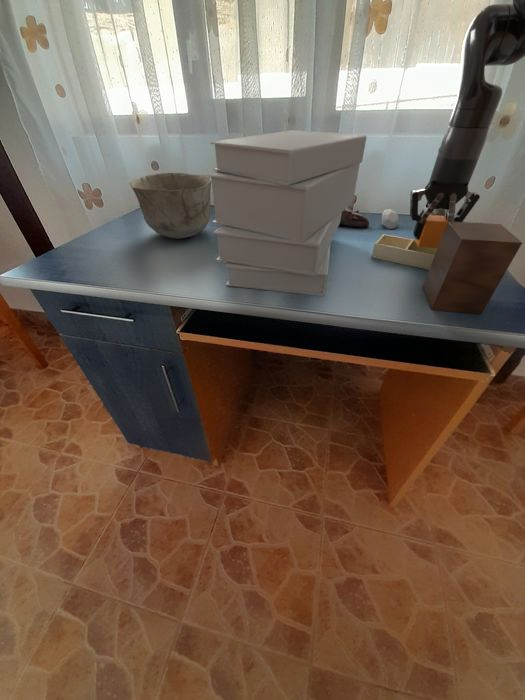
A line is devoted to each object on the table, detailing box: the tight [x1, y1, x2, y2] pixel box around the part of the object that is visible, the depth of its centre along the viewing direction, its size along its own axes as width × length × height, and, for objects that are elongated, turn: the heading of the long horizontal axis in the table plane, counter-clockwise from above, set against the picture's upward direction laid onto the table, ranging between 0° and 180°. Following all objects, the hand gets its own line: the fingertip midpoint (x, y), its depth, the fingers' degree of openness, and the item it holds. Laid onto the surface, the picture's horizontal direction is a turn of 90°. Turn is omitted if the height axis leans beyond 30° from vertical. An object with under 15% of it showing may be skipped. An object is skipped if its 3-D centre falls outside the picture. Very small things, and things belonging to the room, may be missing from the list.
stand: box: [422, 221, 523, 316], centre depth 56 cm, size 9×9×14 cm
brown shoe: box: [339, 207, 370, 228], centre depth 94 cm, size 6×12×11 cm
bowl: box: [129, 172, 212, 240], centre depth 85 cm, size 22×22×15 cm
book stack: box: [206, 129, 367, 297], centre depth 68 cm, size 30×35×26 cm
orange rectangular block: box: [414, 214, 448, 248], centre depth 70 cm, size 4×4×6 cm
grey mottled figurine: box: [430, 208, 445, 217], centre depth 91 cm, size 12×6×7 cm, turn 158°
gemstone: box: [381, 208, 400, 230], centre depth 93 cm, size 6×6×5 cm
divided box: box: [371, 233, 437, 271], centre depth 73 cm, size 8×22×4 cm, turn 57°
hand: (428, 238), depth 71 cm, fingers closed on orange rectangular block, 4 cm apart
